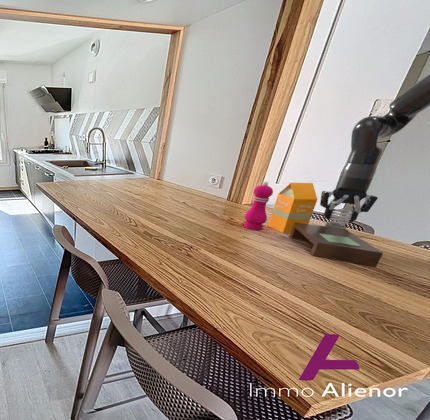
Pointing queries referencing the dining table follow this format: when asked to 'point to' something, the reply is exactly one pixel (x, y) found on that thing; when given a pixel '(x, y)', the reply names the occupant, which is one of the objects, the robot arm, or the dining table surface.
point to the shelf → (336, 244)
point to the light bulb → (342, 220)
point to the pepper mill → (258, 207)
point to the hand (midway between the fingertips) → (338, 219)
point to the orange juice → (293, 206)
